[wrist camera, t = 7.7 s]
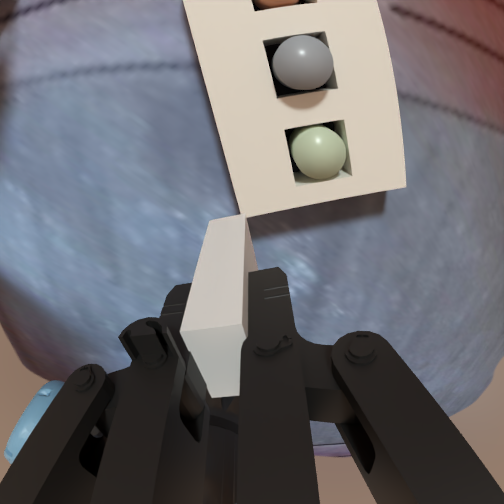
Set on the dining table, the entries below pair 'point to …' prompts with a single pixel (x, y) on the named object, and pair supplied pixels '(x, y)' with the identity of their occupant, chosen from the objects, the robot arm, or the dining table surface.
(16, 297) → the dining table surface
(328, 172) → the sage button
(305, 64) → the grey button
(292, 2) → the terracotta button
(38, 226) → the dining table surface
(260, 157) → the button panel
